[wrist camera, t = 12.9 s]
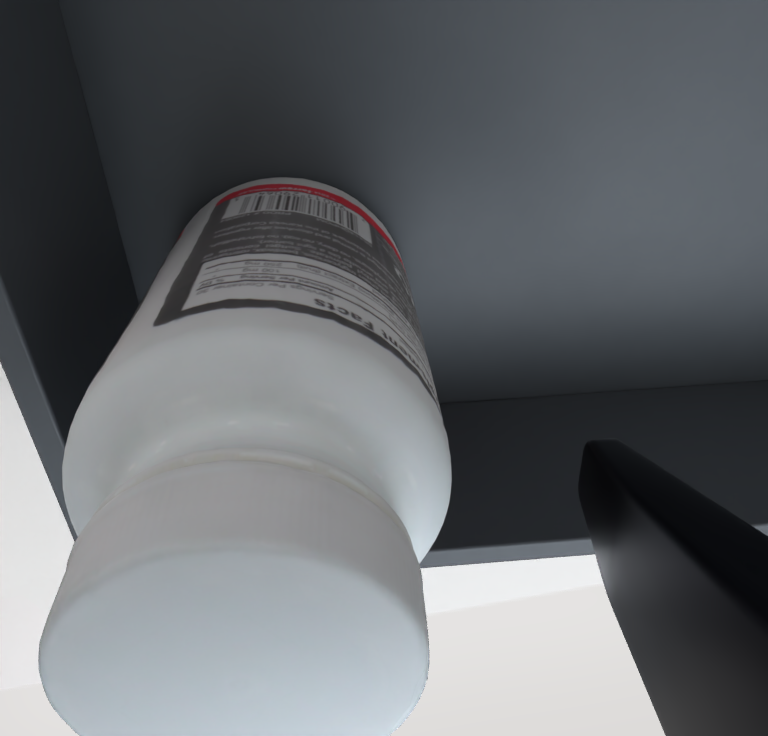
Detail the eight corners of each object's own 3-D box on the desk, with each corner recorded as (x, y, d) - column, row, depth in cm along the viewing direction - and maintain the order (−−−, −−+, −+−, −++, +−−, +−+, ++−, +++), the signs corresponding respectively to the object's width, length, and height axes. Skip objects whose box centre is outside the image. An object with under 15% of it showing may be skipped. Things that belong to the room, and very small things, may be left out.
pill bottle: (295, 421, 17) (256, 857, 9) (122, 286, 15) (-162, 700, 6) (454, 290, 15) (599, 673, 7) (286, 114, 13) (195, 366, 5)
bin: (917, 373, 18) (1122, 513, 13) (160, 427, 17) (95, 595, 13) (1336, -533, 10) (2288, -1016, 5) (-97, -498, 9) (-574, -1021, 4)
